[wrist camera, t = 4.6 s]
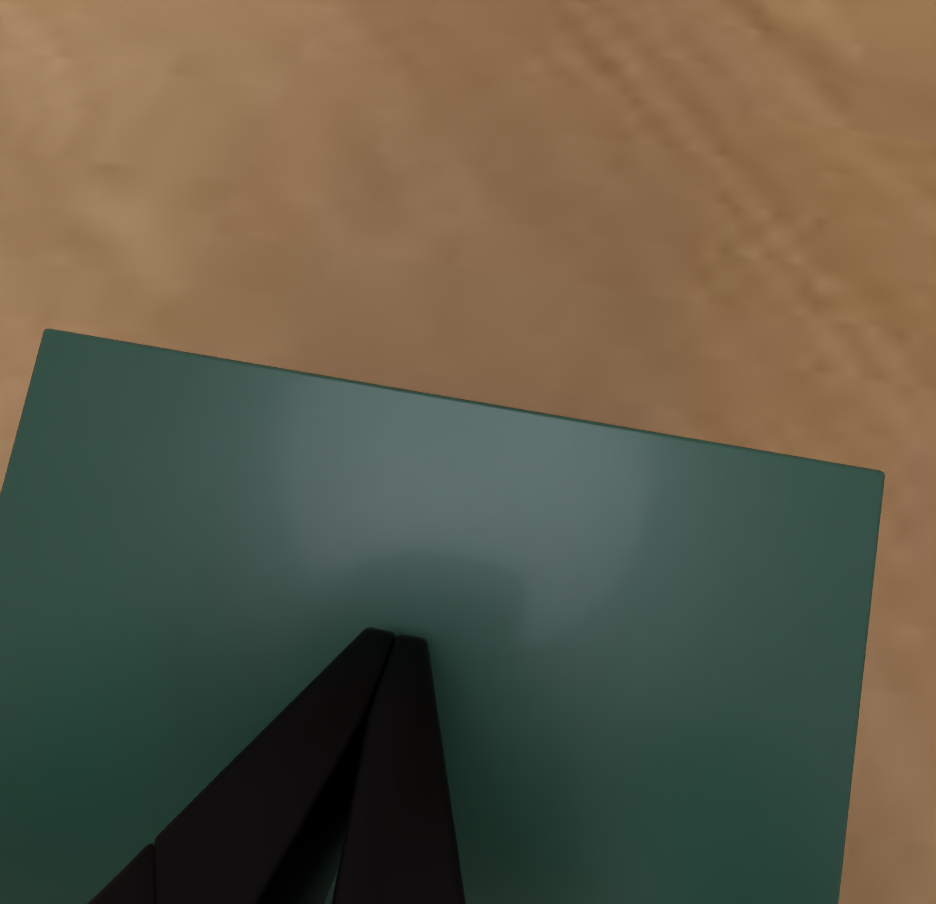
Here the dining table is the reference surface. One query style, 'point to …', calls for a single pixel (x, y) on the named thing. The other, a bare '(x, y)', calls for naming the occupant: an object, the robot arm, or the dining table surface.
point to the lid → (428, 623)
